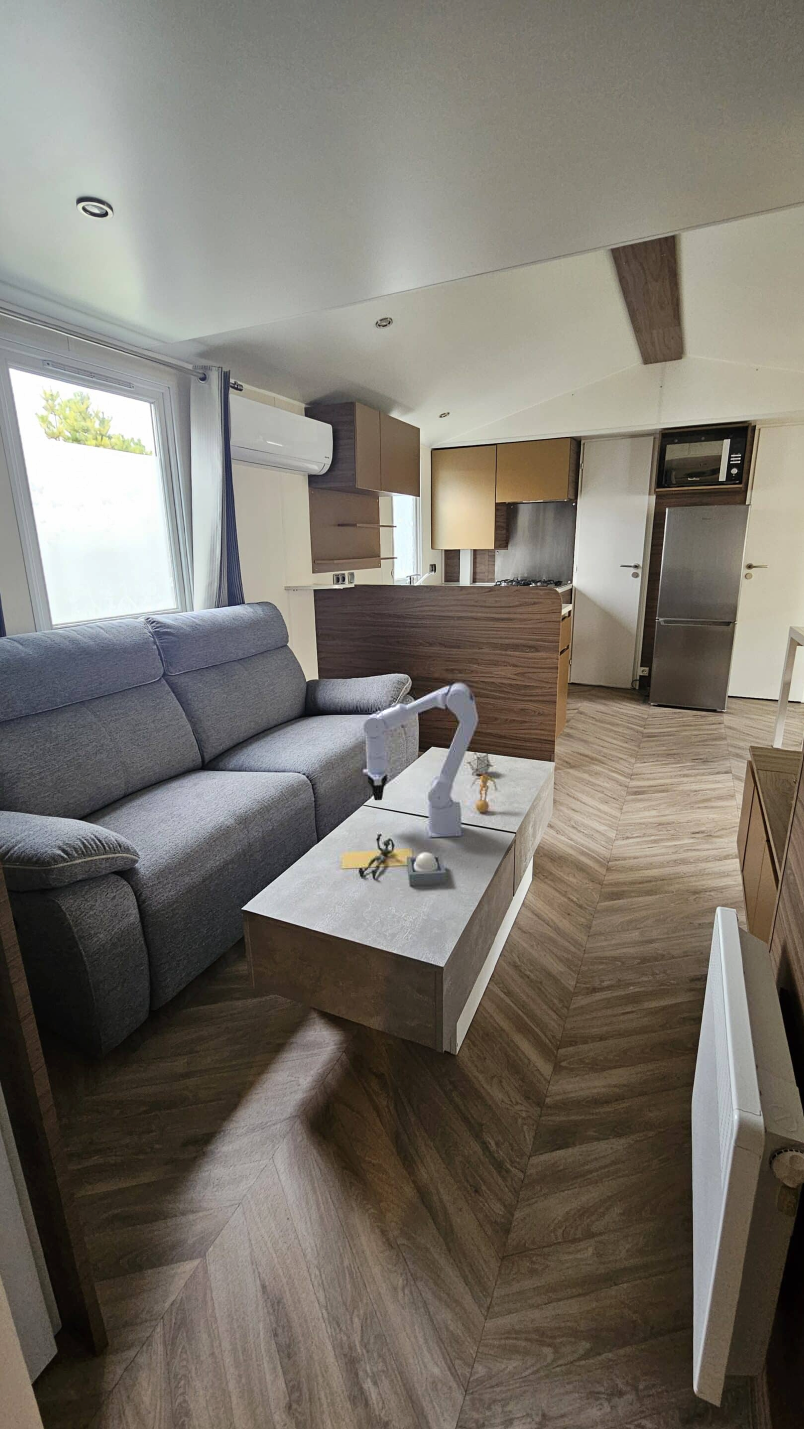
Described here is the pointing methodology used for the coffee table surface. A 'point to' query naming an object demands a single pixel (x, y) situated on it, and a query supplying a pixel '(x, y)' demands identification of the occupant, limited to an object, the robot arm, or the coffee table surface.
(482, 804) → the figurine
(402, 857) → the yellow rectangular panel
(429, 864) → the popper dome
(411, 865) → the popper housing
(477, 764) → the grey spiky lattice polyhedron
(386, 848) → the zombie figurine
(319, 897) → the coffee table surface
